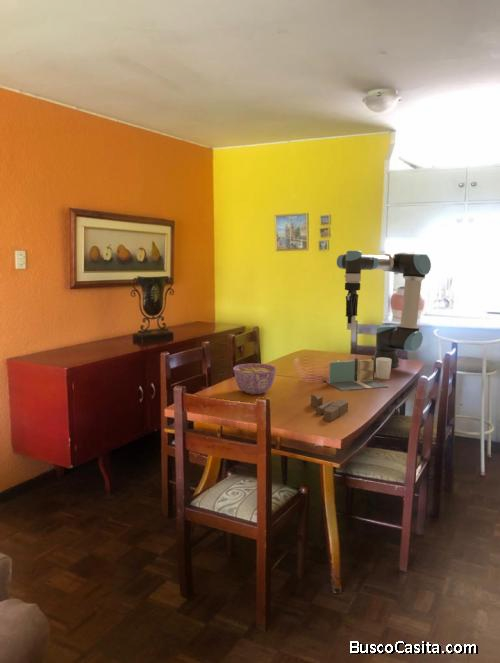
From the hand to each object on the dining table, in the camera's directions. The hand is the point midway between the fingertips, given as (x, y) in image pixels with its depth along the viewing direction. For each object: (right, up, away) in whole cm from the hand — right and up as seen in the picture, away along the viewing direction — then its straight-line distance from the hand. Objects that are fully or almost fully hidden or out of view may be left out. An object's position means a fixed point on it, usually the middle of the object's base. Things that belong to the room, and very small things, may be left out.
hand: (351, 328), depth 261 cm
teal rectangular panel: (-5, -26, -1) cm, 27 cm away
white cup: (+19, -26, +11) cm, 33 cm away
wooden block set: (-22, -35, -49) cm, 64 cm away
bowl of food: (-48, -30, -19) cm, 60 cm away
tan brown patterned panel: (+7, -26, +3) cm, 28 cm away
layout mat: (+1, -27, -3) cm, 27 cm away
